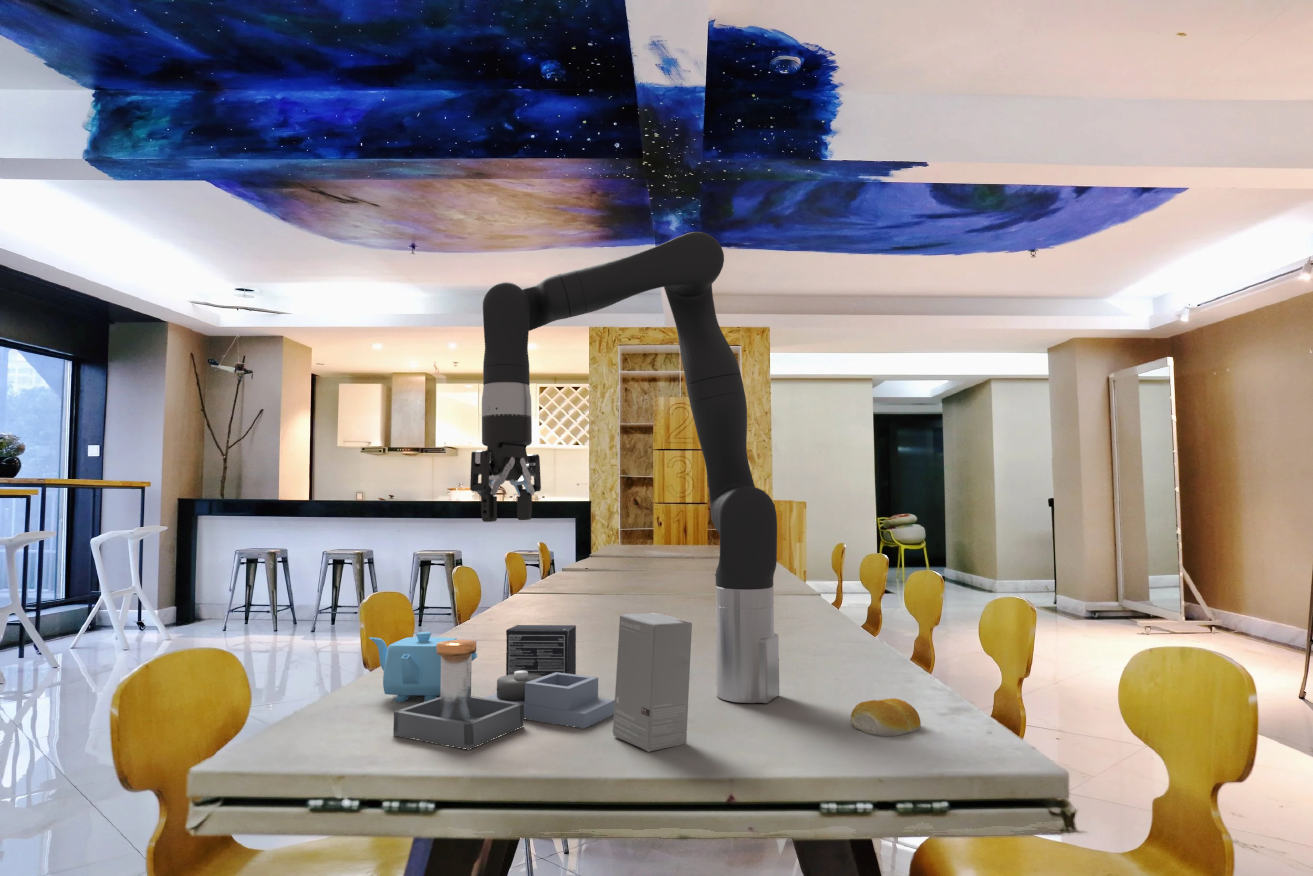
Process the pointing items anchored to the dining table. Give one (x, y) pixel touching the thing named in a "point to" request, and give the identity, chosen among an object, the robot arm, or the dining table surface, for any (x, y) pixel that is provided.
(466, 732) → the tray
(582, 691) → the block
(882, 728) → the bread roll
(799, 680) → the dining table surface
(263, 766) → the dining table surface
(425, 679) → the teapot
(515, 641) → the small box
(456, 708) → the copper capped glass jar
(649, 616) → the skincare box
